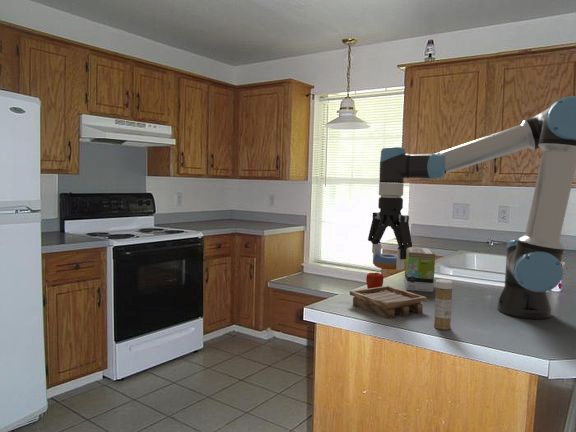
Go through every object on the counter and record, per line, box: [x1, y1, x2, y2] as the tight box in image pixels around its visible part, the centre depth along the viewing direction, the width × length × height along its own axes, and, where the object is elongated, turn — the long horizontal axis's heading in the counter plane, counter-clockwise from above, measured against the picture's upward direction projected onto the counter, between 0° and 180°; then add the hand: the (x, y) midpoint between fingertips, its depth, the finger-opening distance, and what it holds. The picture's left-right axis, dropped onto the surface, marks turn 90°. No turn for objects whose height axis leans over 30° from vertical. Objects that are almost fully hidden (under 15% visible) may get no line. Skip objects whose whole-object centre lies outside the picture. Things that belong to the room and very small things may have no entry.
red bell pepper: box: [365, 272, 384, 293], centre depth 162 cm, size 6×6×8 cm
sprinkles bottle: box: [433, 278, 454, 331], centre depth 123 cm, size 5×5×14 cm
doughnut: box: [372, 253, 406, 270], centre depth 141 cm, size 10×10×5 cm
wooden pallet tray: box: [349, 285, 427, 320], centre depth 141 cm, size 17×17×5 cm
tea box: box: [404, 247, 436, 293], centre depth 172 cm, size 15×10×15 cm, turn 168°
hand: (388, 266), depth 141 cm, fingers closed on doughnut, 10 cm apart
